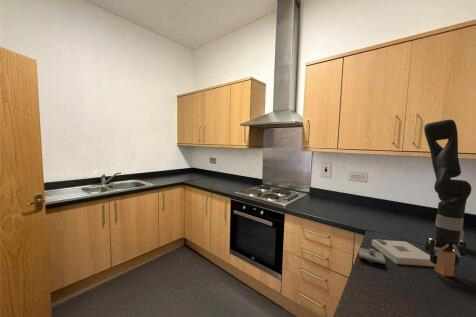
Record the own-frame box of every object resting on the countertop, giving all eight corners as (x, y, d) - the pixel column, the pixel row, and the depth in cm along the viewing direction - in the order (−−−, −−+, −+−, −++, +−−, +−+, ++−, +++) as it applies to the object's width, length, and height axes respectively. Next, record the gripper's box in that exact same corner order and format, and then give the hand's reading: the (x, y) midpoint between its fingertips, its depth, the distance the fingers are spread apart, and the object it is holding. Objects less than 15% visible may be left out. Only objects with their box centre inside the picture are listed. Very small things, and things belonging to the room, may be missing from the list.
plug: (443, 270, 88) (446, 243, 87) (453, 276, 84) (456, 248, 83) (434, 270, 88) (437, 243, 87) (443, 275, 84) (446, 247, 83)
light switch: (382, 258, 96) (383, 248, 96) (385, 268, 87) (386, 257, 87) (358, 252, 101) (359, 242, 100) (358, 261, 92) (359, 250, 92)
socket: (405, 247, 109) (406, 240, 109) (437, 266, 91) (438, 258, 91) (371, 244, 109) (372, 238, 109) (396, 263, 92) (396, 255, 91)
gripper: (456, 224, 88) (452, 260, 89) (422, 222, 89) (418, 257, 90) (475, 231, 81) (471, 270, 82) (438, 228, 82) (434, 267, 82)
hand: (443, 263), depth 86 cm, fingers open, 8 cm apart
